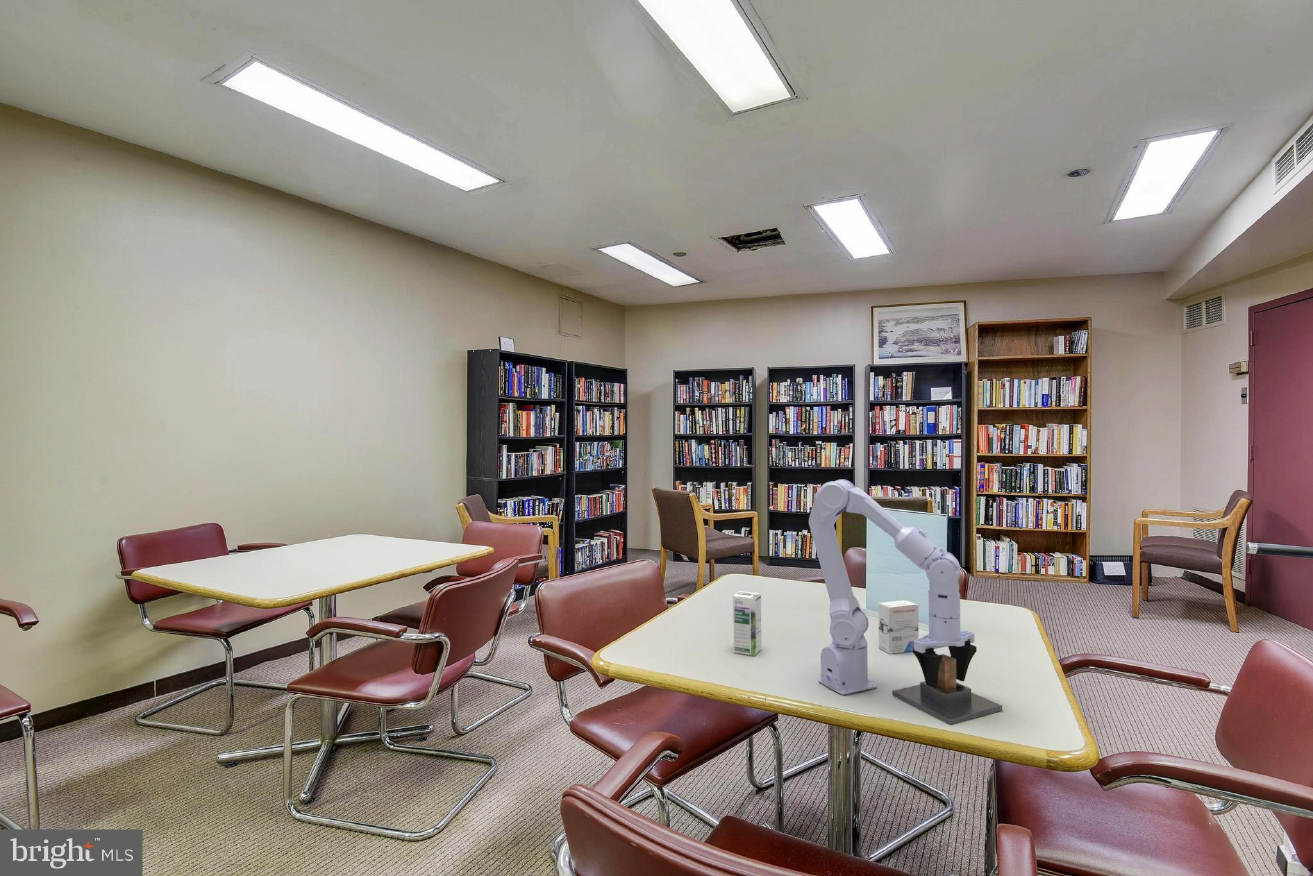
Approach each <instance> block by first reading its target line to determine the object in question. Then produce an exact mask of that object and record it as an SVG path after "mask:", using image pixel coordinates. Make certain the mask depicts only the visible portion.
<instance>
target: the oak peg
mask: <svg viewBox="0 0 1313 876" xmlns="http://www.w3.org/2000/svg"><path fill="white" fill-rule="evenodd" d="M940 655H941V656H943V657H942V660H941V662H940V666H939V670H938V684H937V687H938V688H940V689H942V690H944V691H946V692H947V691H951V690H955V689H956V682H957V679H956V659H955V658H952V657H951V655H947V654H945V653H941V654H940Z"/></svg>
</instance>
